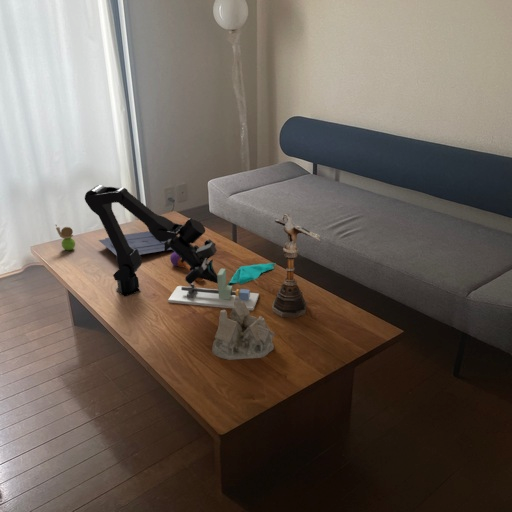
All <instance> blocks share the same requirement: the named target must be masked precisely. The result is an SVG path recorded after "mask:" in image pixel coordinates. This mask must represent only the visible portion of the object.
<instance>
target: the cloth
mask: <svg viewBox="0 0 512 512" xmlns="http://www.w3.org/2000/svg"><path fill="white" fill-rule="evenodd" d="M276 264H277V263H276V262H269V263H259V264H252V265H243V266H242V265H241V266H239V268H238V269H237V270H236V271H235V273H233V276H232V277H231V280H230V281H229V282H228V284H227V285H229V286H230V284H237V283H239V285H243V284H245V283H248V281H249V282H251V280H252V281H253V280H256V279H258V278H259V277H261V274H263V273H265V272H269V271H270V270H275V267H274V266H275V265H276Z"/></svg>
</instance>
